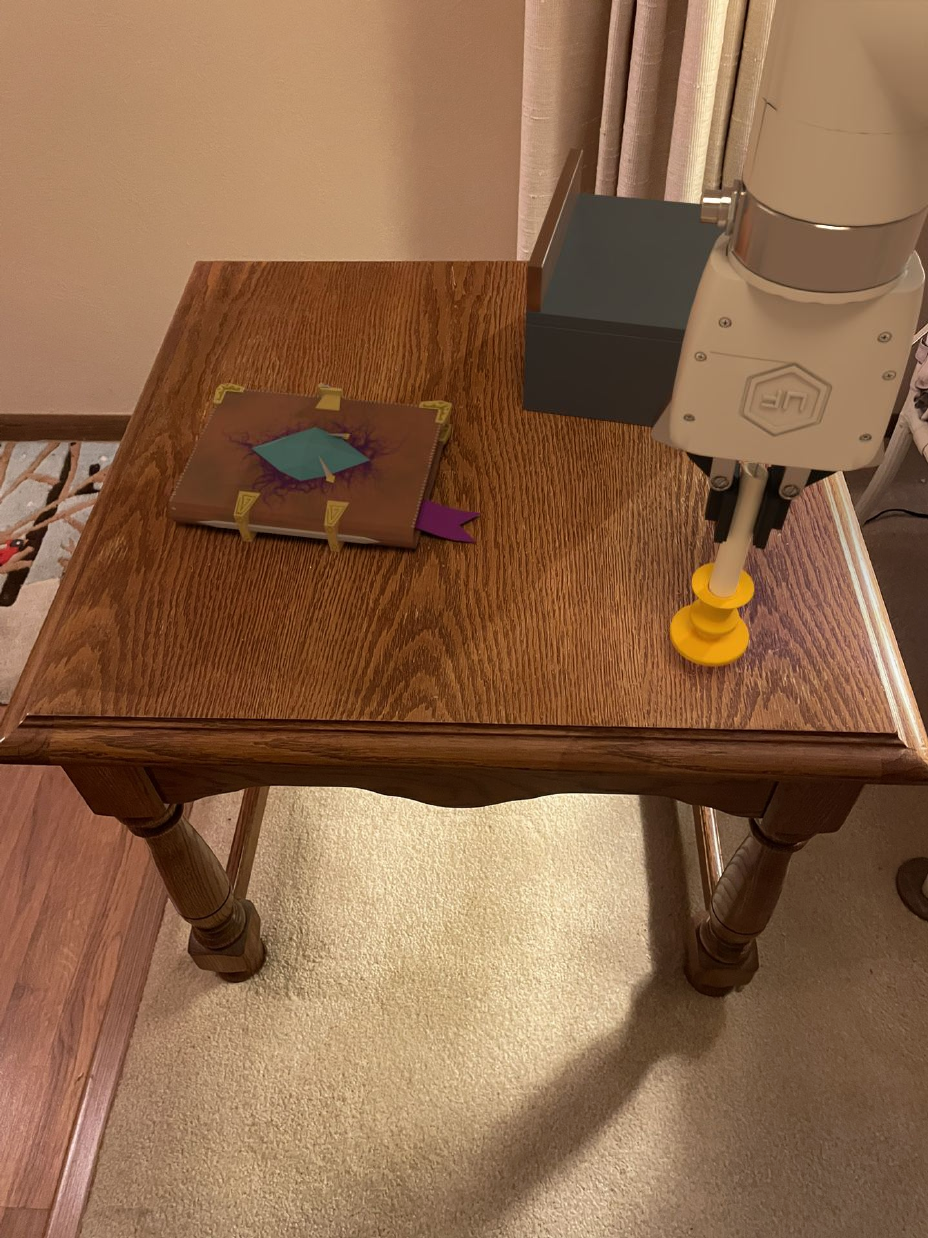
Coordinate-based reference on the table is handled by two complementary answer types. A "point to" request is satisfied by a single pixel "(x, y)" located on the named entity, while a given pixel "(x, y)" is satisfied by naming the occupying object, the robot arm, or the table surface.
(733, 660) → the candle
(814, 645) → the table surface
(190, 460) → the book
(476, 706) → the table surface
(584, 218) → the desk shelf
